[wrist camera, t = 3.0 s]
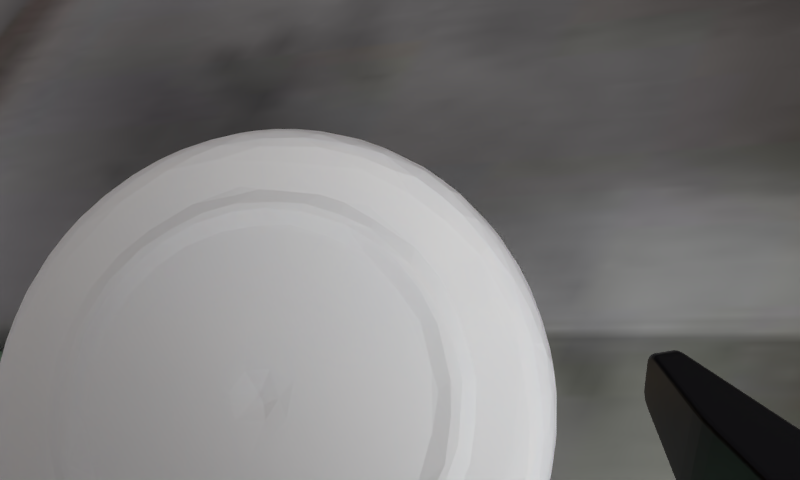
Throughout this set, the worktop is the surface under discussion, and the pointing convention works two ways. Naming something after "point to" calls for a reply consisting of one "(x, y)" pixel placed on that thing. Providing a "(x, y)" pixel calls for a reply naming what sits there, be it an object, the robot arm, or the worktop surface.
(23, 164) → the worktop surface
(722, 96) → the worktop surface
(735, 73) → the worktop surface
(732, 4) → the worktop surface
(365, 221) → the sprinkles bottle
